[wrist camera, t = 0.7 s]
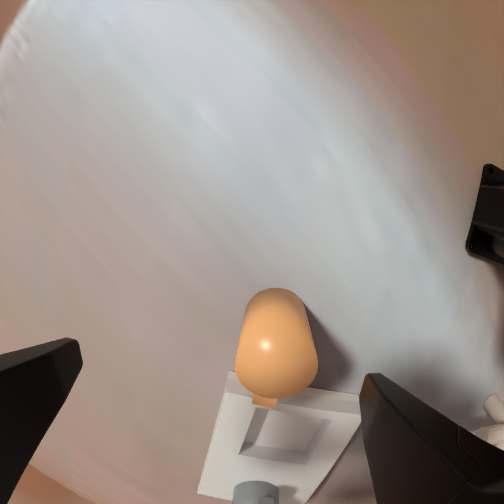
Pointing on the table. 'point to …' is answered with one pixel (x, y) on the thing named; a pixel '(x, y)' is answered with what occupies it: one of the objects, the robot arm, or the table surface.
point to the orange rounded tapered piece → (275, 347)
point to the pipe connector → (500, 413)
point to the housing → (276, 444)
